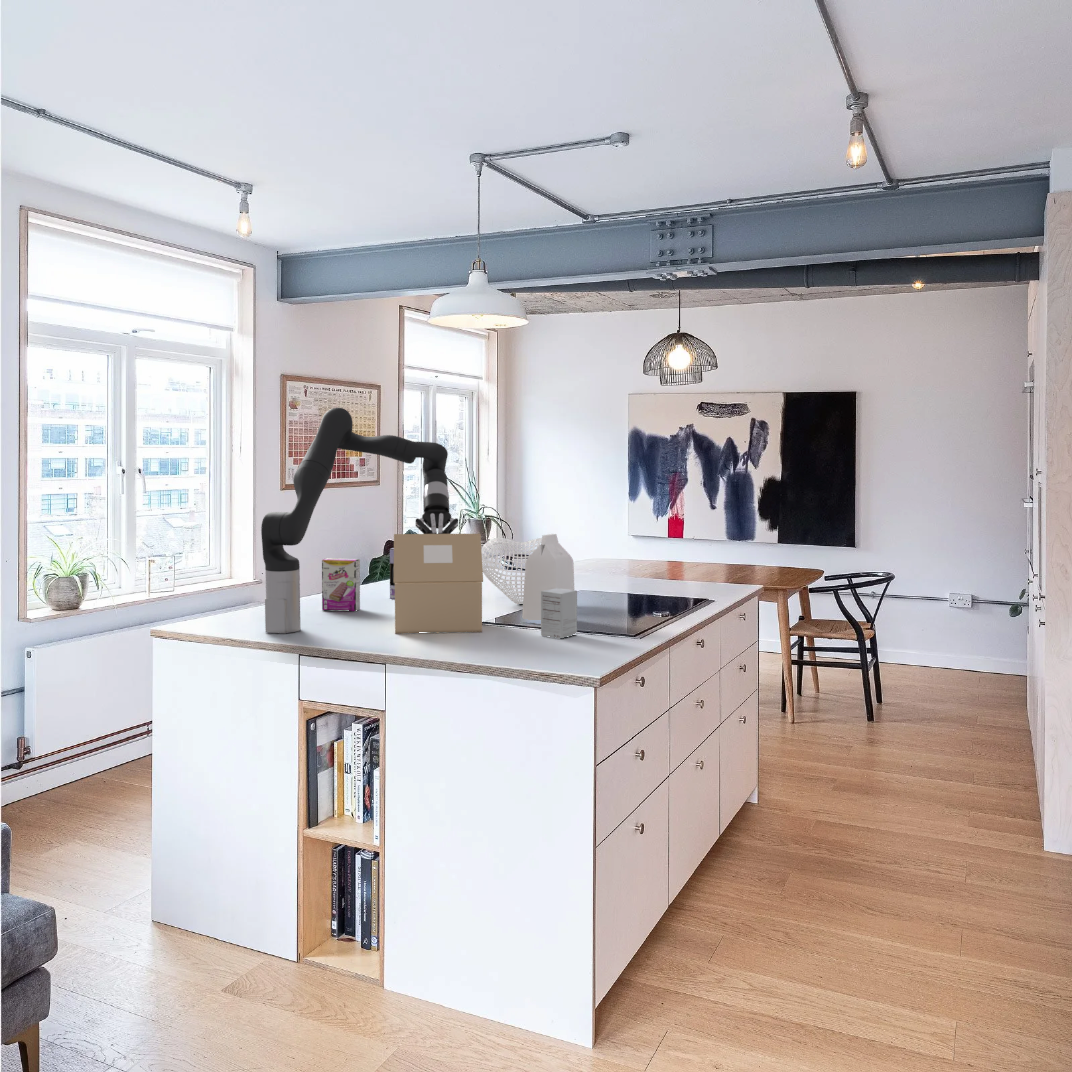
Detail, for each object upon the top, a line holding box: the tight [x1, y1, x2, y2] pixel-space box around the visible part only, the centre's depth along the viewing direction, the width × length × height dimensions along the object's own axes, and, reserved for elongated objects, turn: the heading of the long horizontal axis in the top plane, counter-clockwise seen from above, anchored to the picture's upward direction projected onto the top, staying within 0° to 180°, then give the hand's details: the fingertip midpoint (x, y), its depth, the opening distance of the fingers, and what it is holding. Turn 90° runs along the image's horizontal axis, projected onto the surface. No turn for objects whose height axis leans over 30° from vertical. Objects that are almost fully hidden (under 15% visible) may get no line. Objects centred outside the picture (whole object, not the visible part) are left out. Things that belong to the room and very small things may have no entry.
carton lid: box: [393, 533, 484, 583], centre depth 267 cm, size 16×25×1 cm
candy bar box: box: [321, 557, 361, 612], centre depth 301 cm, size 11×5×16 cm, turn 84°
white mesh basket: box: [481, 537, 542, 605], centre depth 312 cm, size 28×16×22 cm, turn 90°
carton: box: [394, 582, 483, 635], centre depth 271 cm, size 16×24×14 cm, turn 97°
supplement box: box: [540, 588, 578, 639], centre depth 261 cm, size 7×7×13 cm
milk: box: [521, 533, 575, 620], centre depth 282 cm, size 12×12×26 cm
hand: (437, 546), depth 271 cm, fingers closed
